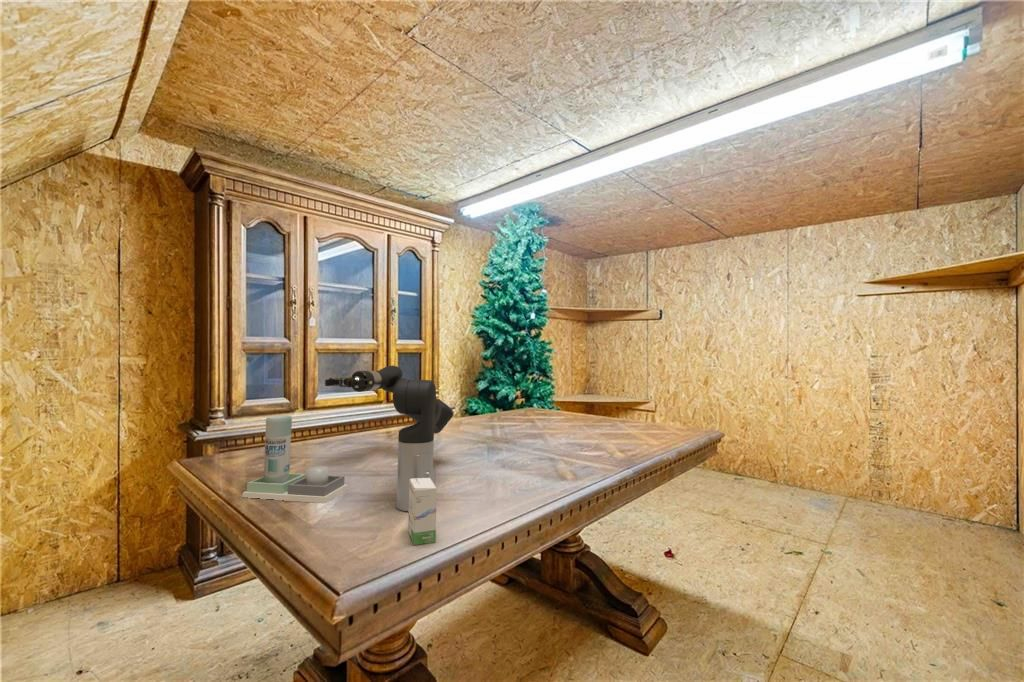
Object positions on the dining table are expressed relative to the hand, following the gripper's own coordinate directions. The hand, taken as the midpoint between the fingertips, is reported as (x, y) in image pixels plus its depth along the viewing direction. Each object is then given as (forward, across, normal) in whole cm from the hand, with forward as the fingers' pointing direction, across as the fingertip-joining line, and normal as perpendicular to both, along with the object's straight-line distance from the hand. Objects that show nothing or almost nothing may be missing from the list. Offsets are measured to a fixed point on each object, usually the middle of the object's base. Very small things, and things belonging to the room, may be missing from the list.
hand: (336, 383), depth 143 cm
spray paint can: (+21, +2, -29) cm, 36 cm away
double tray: (+20, -4, -30) cm, 36 cm away
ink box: (+34, -51, -30) cm, 68 cm away
